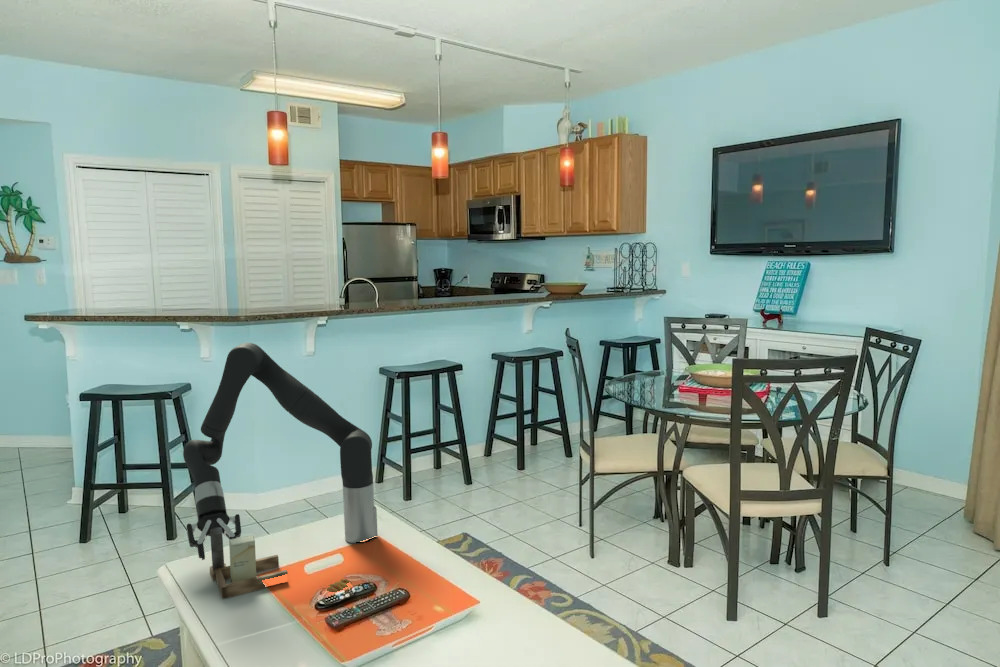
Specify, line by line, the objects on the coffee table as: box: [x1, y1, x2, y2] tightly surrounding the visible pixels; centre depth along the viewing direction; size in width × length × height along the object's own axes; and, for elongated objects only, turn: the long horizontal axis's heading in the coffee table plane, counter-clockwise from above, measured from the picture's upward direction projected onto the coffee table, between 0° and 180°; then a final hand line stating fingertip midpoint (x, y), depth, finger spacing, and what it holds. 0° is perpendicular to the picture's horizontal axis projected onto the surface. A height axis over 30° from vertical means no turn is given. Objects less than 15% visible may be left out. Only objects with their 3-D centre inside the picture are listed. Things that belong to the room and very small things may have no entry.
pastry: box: [326, 578, 351, 592], centre depth 164 cm, size 9×7×4 cm
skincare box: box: [228, 534, 257, 584], centre depth 172 cm, size 6×4×12 cm
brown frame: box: [209, 527, 288, 600], centre depth 176 cm, size 17×18×12 cm
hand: (218, 555), depth 177 cm, fingers open, 7 cm apart
